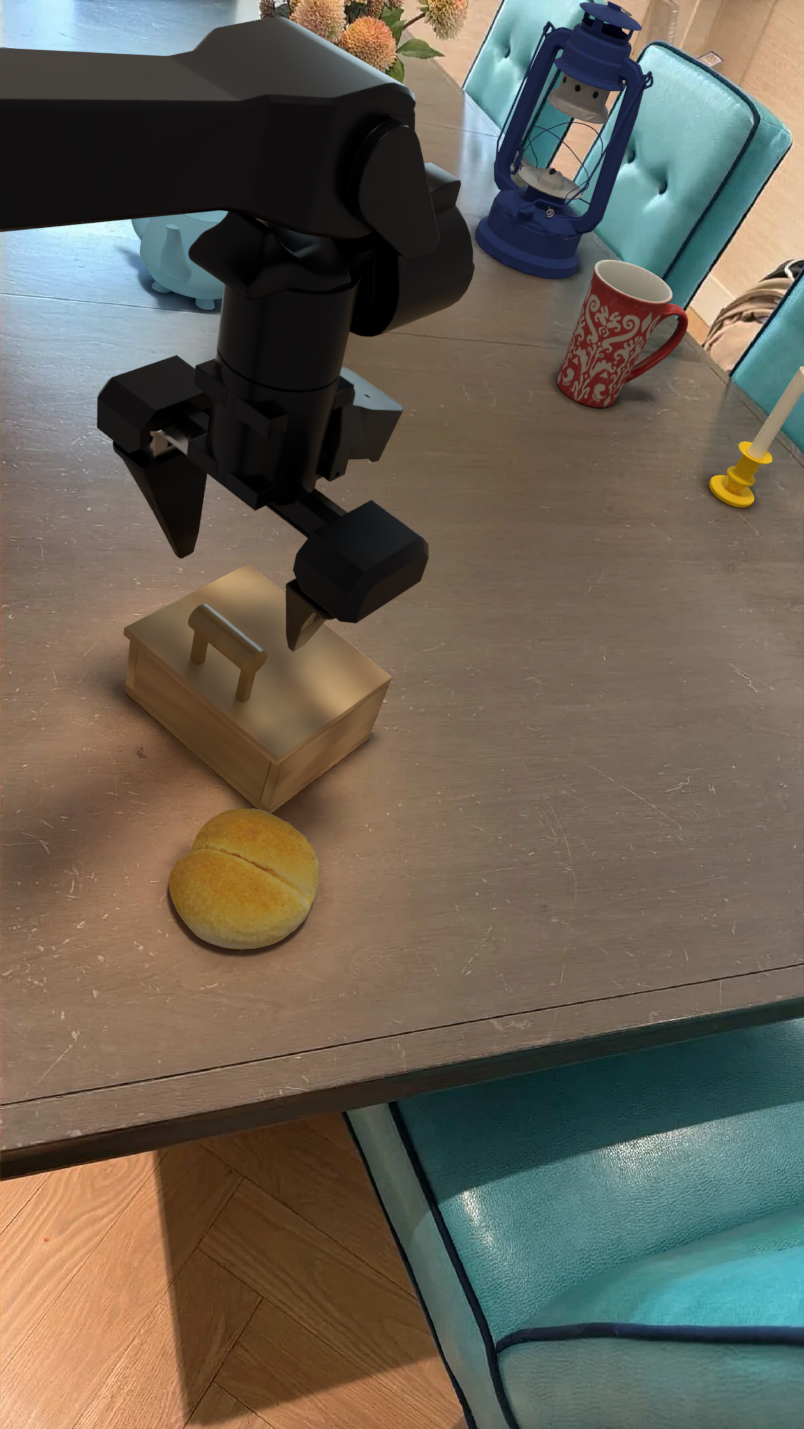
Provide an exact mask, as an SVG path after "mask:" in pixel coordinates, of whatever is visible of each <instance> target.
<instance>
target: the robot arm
mask: <svg viewBox="0 0 804 1429" xmlns="http://www.w3.org/2000/svg"><path fill="white" fill-rule="evenodd" d="M416 106H417V102H416V96H415V93H414V92H413V91H412V90H411V89H410V88H409V86H408V85H405V84H403V83H402V82H400V81H399V80H396V79H395V78H393V77H391V76H389V75H388V74H386V73H384V72H383V71H381V70H379V69H378V68H376V67H374V66H373V65H370V64H369V63H367V62H365V61H364V60H362V59H361V58H358V57H356V56H355V55H353V54H351V53H349V52H347V51H346V50H344V49H342V48H341V47H340V46H337V45H335V44H334V43H332V42H330V41H328V40H327V39H325V38H324V37H321V36H320V35H319V34H316V33H315V32H313V31H311V30H309V29H307V28H306V27H304V26H302V25H301V24H299V23H298V22H295V21H293V20H291V19H289V18H287V17H284V16H270V17H265V18H260V19H254V20H250V21H244V22H238V23H233V24H228V25H224V26H223V25H222V26H218V27H215V28H214V29H212V30H211V31H209V32H208V33H207V34H206V35H205V36H204V37H203V39H201V41H200V42H199V43H198V44H197V45H196V46H195V48H193V50H188V51H184V52H180V53H179V52H178V53H174V54H169V55H157V54H156V55H155V54H139V53H138V54H135V53H118V52H117V53H115V52H97V51H74V50H58V49H57V50H54V49H33V48H14V47H11V48H10V47H0V233H6V232H17V231H18V232H19V231H27V230H36V229H37V230H38V229H47V228H58V227H68V226H69V227H70V226H78V225H88V224H98V223H107V222H118V221H128V220H129V221H131V219H140V218H150V217H160V216H170V215H180V214H190V213H200V212H210V211H228V213H227V214H226V216H225V217H224V218H223V219H222V220H221V221H220V222H219V223H218V224H217V225H215V226H214V227H212V228H210V229H208V230H206V231H204V232H203V233H202V234H201V235H200V236H199V237H198V238H197V239H196V241H195V242H194V243H193V244H192V245H191V246H190V248H189V251H188V257H189V259H190V260H191V261H192V262H193V263H195V264H196V265H198V266H199V267H201V268H202V269H203V270H205V271H206V272H208V273H209V274H211V275H212V276H214V277H215V278H216V279H218V280H219V281H221V282H222V283H224V289H223V298H221V307H220V315H219V326H218V333H217V334H218V335H217V343H216V352H215V358H212V359H209V360H206V361H204V362H201V363H198V364H195V367H194V366H193V365H191V364H190V363H189V362H187V361H186V360H184V359H183V358H182V357H180V356H179V355H177V354H175V355H173V356H170V357H166V358H163V359H161V360H158V361H154V362H151V363H149V364H146V365H143V366H141V367H140V366H139V367H138V368H134V369H132V370H129V371H125V372H122V373H120V374H116V375H114V376H111V377H110V378H108V379H107V381H106V382H105V383H104V385H103V386H102V387H101V389H100V391H99V392H98V394H97V397H96V428H97V430H98V431H100V432H101V433H103V435H105V436H107V437H108V438H109V439H110V440H112V450H113V452H114V453H115V454H116V455H117V456H118V457H120V459H121V460H122V461H123V463H124V464H125V467H126V468H127V470H128V471H129V473H130V475H131V477H132V478H133V480H134V482H135V484H136V485H137V487H138V488H139V490H140V492H141V493H142V496H143V497H144V499H145V501H146V502H147V504H148V506H149V508H150V510H151V512H152V513H153V515H154V517H155V519H156V521H157V523H158V525H159V526H160V529H161V530H162V532H163V534H164V536H165V538H166V540H167V542H168V544H169V546H170V548H171V550H172V552H173V553H174V555H175V556H176V558H178V559H179V560H180V559H184V558H187V557H188V556H190V555H192V554H193V553H194V551H195V548H196V545H197V542H198V537H199V533H200V528H201V520H202V513H203V507H204V502H205V501H204V500H205V493H206V486H207V480H208V476H209V477H211V479H213V480H214V481H216V482H217V483H218V484H220V485H221V486H222V487H224V489H226V490H228V491H229V492H230V493H231V494H233V495H234V496H235V497H236V498H238V499H239V500H240V501H241V502H243V503H244V504H245V505H247V506H248V507H249V508H250V509H252V510H253V511H254V512H256V511H258V510H260V509H262V508H264V507H266V508H267V509H269V510H270V511H271V512H273V513H274V514H276V515H277V516H278V517H280V518H281V519H282V520H283V521H285V523H287V524H288V525H290V526H291V527H292V528H294V529H295V530H296V531H298V532H299V533H300V534H301V535H303V536H304V537H305V538H307V539H306V540H305V541H304V543H303V544H302V546H301V547H299V549H298V550H297V552H296V554H295V557H294V563H293V568H292V572H293V574H294V577H295V578H293V579H291V580H290V581H288V582H286V583H285V593H286V638H287V644H288V648H289V649H290V650H291V651H292V652H294V651H296V650H298V649H299V648H301V647H302V646H304V645H305V644H306V643H307V642H308V641H309V640H310V638H311V637H312V636H313V635H314V634H315V633H316V631H317V630H318V629H319V628H320V627H321V626H322V624H323V623H324V624H325V622H326V621H331V620H332V621H333V620H336V621H339V623H348V624H349V623H350V624H358V623H359V622H361V621H362V620H364V619H365V618H367V617H369V616H370V615H371V614H373V613H375V612H376V611H377V610H379V609H381V608H383V607H384V606H385V605H387V604H388V603H390V602H391V601H393V600H394V599H397V597H399V596H400V595H402V594H403V593H405V592H407V591H408V590H409V589H411V588H413V587H414V586H416V585H417V584H419V583H421V581H422V579H423V576H424V573H425V571H426V567H427V564H428V561H429V558H430V553H429V552H430V551H429V550H430V549H429V543H428V541H426V539H425V538H424V537H423V536H422V535H421V534H419V533H417V532H416V531H415V530H413V529H412V528H411V527H409V525H407V524H406V523H404V522H403V521H401V519H399V518H397V516H394V515H393V514H392V513H390V512H389V511H388V510H387V509H385V507H383V506H381V505H380V504H378V503H377V502H376V501H374V500H373V499H370V500H368V501H366V502H365V503H363V504H361V505H359V506H357V507H355V508H353V509H352V510H349V511H346V510H345V509H343V508H342V507H341V506H340V505H338V504H337V503H336V502H335V501H333V500H332V499H331V498H329V497H328V496H326V494H324V493H323V492H321V490H319V489H317V488H316V485H317V481H318V480H320V479H322V478H323V479H324V480H326V481H327V482H329V483H331V482H333V481H335V480H337V479H339V478H340V477H342V476H345V475H346V472H347V468H348V463H349V461H353V460H356V461H357V460H369V461H370V462H371V463H376V462H377V463H378V462H379V461H380V459H381V458H382V455H383V453H384V452H385V450H386V447H387V445H388V443H389V441H390V439H391V438H392V434H393V433H394V431H395V429H396V426H397V425H398V423H399V420H400V419H401V416H402V414H403V412H404V407H403V406H402V405H401V404H400V403H399V402H398V401H396V400H395V399H393V398H392V397H391V396H390V395H388V394H387V393H385V392H383V391H382V390H381V389H379V388H378V387H376V386H375V385H373V384H372V383H371V382H370V381H368V380H366V379H365V378H364V377H362V376H361V375H360V374H358V373H356V372H354V371H353V370H351V369H349V368H346V367H345V366H344V365H343V364H344V358H345V355H346V354H345V353H346V350H347V346H348V345H347V344H348V340H349V336H350V334H351V333H352V334H354V335H356V336H359V337H362V338H363V337H365V338H373V337H377V336H381V335H383V334H386V333H388V332H391V331H393V330H396V329H398V328H400V327H404V326H406V325H409V324H411V323H414V322H416V321H418V320H420V319H423V318H426V317H429V316H431V315H433V314H436V313H438V312H441V311H443V310H446V309H448V308H450V307H452V306H453V305H455V304H456V303H458V302H459V301H460V300H461V299H462V297H463V296H464V295H465V294H466V293H467V291H468V289H469V287H470V285H471V283H472V280H473V277H474V274H475V268H476V267H475V265H476V264H475V263H474V247H473V241H472V235H471V232H470V230H469V226H468V224H467V221H466V219H465V217H464V216H463V214H462V212H461V210H460V209H459V207H458V205H457V201H458V198H459V195H460V190H461V188H462V180H461V179H459V178H458V177H456V176H454V175H452V174H451V173H450V172H448V171H446V170H444V169H443V168H441V167H439V166H438V165H435V164H434V163H432V162H425V160H424V156H423V152H422V146H421V141H420V139H419V137H418V134H417V132H416V111H415V108H416Z"/></svg>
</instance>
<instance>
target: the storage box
mask: <svg viewBox="0 0 804 1429" xmlns="http://www.w3.org/2000/svg"><path fill="white" fill-rule="evenodd" d="M389 687H390V684H389V685H387V686H386V687H384V688H383V689H382V690H380V691H379V692H378V693H376V694H375V695H373V696H372V697H371V698H369V699H368V700H366V701H365V702H364V703H362V704H361V705H360V706H358V707H357V708H355V709H354V710H353V711H351V712H350V713H348V714H347V715H346V716H344V717H343V718H342V719H340V720H339V721H337V722H336V723H335V724H333V725H332V726H330V727H329V728H328V729H326V730H325V731H324V732H322V733H321V734H319V735H318V736H317V737H315V738H314V739H312V740H311V741H310V742H308V743H307V744H306V745H304V746H303V747H301V748H300V749H299V750H297V751H296V752H294V753H293V754H292V755H290V756H289V757H288V758H286V759H285V760H283V761H282V762H281V763H279V764H278V765H274V764H273V763H272V762H271V761H270V760H269V759H267V758H266V757H265V756H264V755H263V754H262V753H260V752H259V751H258V750H257V749H256V748H255V747H254V746H252V745H251V744H250V743H249V742H248V741H247V740H245V739H244V738H243V737H242V736H241V735H240V734H238V733H237V732H236V731H235V730H234V729H233V728H231V727H230V726H229V725H228V724H227V723H226V722H224V721H223V720H222V719H221V718H220V717H219V716H217V715H216V714H215V713H214V712H213V711H212V710H210V709H209V708H208V707H207V706H206V705H205V704H203V703H202V702H201V701H200V700H199V699H198V698H196V697H195V696H194V695H193V694H192V693H191V692H189V691H188V690H187V689H186V688H185V687H184V686H182V685H181V684H180V683H179V682H178V681H177V680H175V679H174V678H173V677H172V676H171V675H170V674H168V673H167V672H166V671H165V670H164V669H163V668H161V667H160V666H159V665H158V664H157V663H156V662H154V661H153V660H152V659H151V658H150V657H149V656H148V655H146V654H145V653H144V652H143V651H142V650H141V649H139V648H138V647H137V646H136V645H135V644H134V643H132V642H131V641H130V640H129V646H128V654H127V666H126V676H125V686H124V693H125V694H126V695H128V696H129V698H131V699H132V700H133V701H134V702H135V703H136V704H138V705H139V706H140V707H141V708H142V709H143V710H145V711H146V712H147V713H148V714H149V715H150V716H151V717H153V719H155V720H156V721H157V722H158V723H159V724H160V725H161V726H163V727H164V728H165V729H166V730H167V731H168V732H170V734H172V736H174V737H175V738H176V739H177V740H179V741H180V742H181V743H182V744H183V745H184V746H185V747H186V748H188V749H189V750H190V751H191V752H192V753H193V754H194V755H196V756H197V758H199V759H200V760H201V761H202V762H204V763H205V764H206V765H207V766H208V767H209V768H210V769H211V770H213V771H214V772H215V773H216V774H217V775H218V776H219V777H221V778H222V780H224V781H225V782H226V783H227V784H228V785H230V786H231V787H232V788H233V789H234V790H235V791H236V792H237V793H239V795H240V796H242V797H243V798H244V799H245V800H247V801H248V802H249V803H250V804H251V805H252V806H253V807H254V808H255V809H259V810H264V811H266V812H268V813H270V814H273V813H274V812H275V811H276V810H278V809H279V808H280V807H281V806H283V805H284V804H285V803H287V802H288V801H289V800H291V799H292V798H294V797H295V796H296V795H297V794H299V793H300V792H301V791H303V790H304V789H305V788H306V787H308V786H309V785H310V784H312V783H313V782H314V781H316V780H317V779H318V778H319V777H321V776H322V775H323V774H325V773H327V771H329V770H330V769H331V768H333V767H334V766H335V765H336V764H338V763H339V762H340V761H342V760H343V759H344V758H346V757H347V756H348V755H350V754H351V753H352V752H353V751H356V749H357V748H359V747H360V746H361V745H363V744H364V743H365V742H367V741H368V740H369V739H370V736H371V734H372V731H373V729H374V727H375V723H376V721H377V719H378V716H379V714H380V711H381V708H382V705H383V702H384V701H385V697H386V695H387V692H388V689H389Z"/></svg>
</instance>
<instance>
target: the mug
mask: <svg viewBox="0 0 804 1429" xmlns="http://www.w3.org/2000/svg"><path fill="white" fill-rule="evenodd" d="M592 273H593V274H592V277H591V280H590V283H589V286H588V288H587V291H586V294H585V297H584V300H583V302H582V306H581V308H580V312H579V314H578V318H577V321H576V323H575V326H574V329H573V332H572V335H571V336H570V340H569V344H568V345H567V349H566V351H565V355H564V357H563V361H562V363H561V364H560V368H559V372H558V375H557V378H556V384H557V386H558V388H559V390H560V391H561V392H562V393H563V394H564V395H566V396H567V398H569V399H571V400H573V401H575V402H577V403H578V404H581V405H585V406H587V407H591V408H607V407H608V408H609V407H611V406H612V405H613V404H614V403H615V402H616V400H617V398H618V397H619V394H620V393H621V391H622V389H623V386H624V385H626V384H628V383H629V382H631V381H633V380H635V379H637V378H638V377H640V376H642V375H643V374H645V373H647V372H648V371H649V370H651V369H652V368H654V367H655V366H657V365H658V364H660V363H661V362H662V361H663V360H665V359H666V358H667V357H668V356H669V355H670V354H671V353H672V352H674V350H675V349H676V348H677V347H678V346H679V344H680V343H681V342H682V340H683V338H684V337H685V335H686V333H687V330H688V326H689V317H688V315H687V313H686V311H685V310H684V308H683V307H682V306H680V305H678V304H675V303H670V302H671V301H672V300H673V296H674V294H673V291H672V289H671V287H670V286H669V284H667V283H666V282H665V281H664V280H663V279H662V278H661V277H660V276H658V275H656V274H655V273H654V272H651V271H650V270H648V269H646V268H644V267H642V266H639V265H636V264H633V263H630V262H628V261H627V262H626V261H623V260H616V259H603V260H599V261H598V262H596V263H595V264H594V267H593V272H592ZM672 316H676V317H678V321H677V325H676V327H675V329H674V331H673V333H672V334H671V335H670V337H669V338H668V339H666V341H665V342H664V343H663V344H662V345H661V346H660V347H658V349H656V350H655V351H654V352H651V354H649V355H648V356H646V357H645V358H644V359H642V360H641V361H639V362H637V360H638V358H639V357H640V355H641V353H642V352H643V349H644V348H645V346H646V344H647V342H648V340H649V338H650V336H651V335H652V333H653V332H654V329H655V328H657V326H658V325H659V324H660V323H661V322H662V321H664V320H665V319H667V318H669V317H672Z"/></svg>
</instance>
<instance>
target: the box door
mask: <svg viewBox="0 0 804 1429" xmlns="http://www.w3.org/2000/svg"><path fill="white" fill-rule="evenodd" d="M123 636H124V637H125V638H126V639H128V640H129V642H130V641H131V642H132V643H134V644H135V645H136V646H137V647H138V648H139V649H141V650H142V651H143V652H144V653H145V654H146V655H148V656H149V657H150V658H151V659H152V660H153V661H154V662H156V663H157V664H158V665H159V666H160V667H161V668H163V669H164V670H165V671H166V672H167V673H168V674H170V675H171V676H172V677H173V678H174V679H175V680H177V681H178V682H179V683H180V684H181V685H182V686H184V687H185V688H186V689H187V690H188V691H189V692H191V693H192V694H193V695H194V696H195V697H196V698H198V699H199V700H200V701H201V702H202V703H203V704H205V705H206V706H207V707H208V708H209V709H210V710H212V711H213V712H214V713H215V714H216V715H217V716H219V717H220V718H221V719H222V720H223V721H224V722H226V723H227V724H228V725H229V726H230V727H231V728H233V729H234V730H235V731H236V732H237V733H238V734H240V735H241V736H242V737H243V738H244V739H245V740H247V741H248V742H249V743H250V744H251V745H252V746H254V747H255V748H256V749H257V750H258V751H259V752H260V753H262V754H263V755H264V756H265V757H266V758H267V759H269V760H270V761H271V762H272V763H273V764H274V765H278V764H279V763H281V762H282V761H283V760H285V759H286V758H288V757H289V756H290V755H292V754H293V753H294V752H296V751H297V750H299V749H300V748H301V747H303V746H304V745H306V744H307V743H308V742H310V741H311V740H312V739H314V738H315V737H317V736H318V735H319V734H321V733H322V732H324V731H325V730H326V729H328V728H329V727H330V726H332V725H333V724H335V723H336V722H337V721H339V720H340V719H342V718H343V717H344V716H346V715H347V714H348V713H350V712H351V711H353V710H354V709H355V708H357V707H358V706H360V705H361V704H362V703H364V702H365V701H366V700H368V699H369V698H371V697H372V696H373V695H375V694H376V693H378V692H379V691H380V690H382V689H383V688H384V687H386V686H387V685H389V686H390V684H391V681H392V679H393V677H392V675H390V673H387V671H386V670H384V669H383V668H382V667H380V666H379V665H378V664H376V663H375V662H374V661H373V660H371V659H370V658H369V657H367V655H365V654H363V653H362V652H361V651H360V650H359V649H357V648H356V647H355V646H354V645H353V644H352V643H350V642H349V641H347V640H346V639H344V637H342V635H340V634H338V633H337V632H336V631H334V630H333V629H332V628H331V627H330V626H328V625H327V624H326V623H325V622H324V623H323V624H322V626H321V627H320V628H319V629H318V630H317V631H316V633H315V634H314V635H313V636H312V637H311V638H310V640H309V641H308V642H307V643H306V644H305V645H304V646H302V647H301V648H299V649H298V650H296V651H294V652H292V651H291V650H290V649H289V648H288V644H287V638H286V591H284V590H283V589H282V588H280V587H279V586H277V585H276V584H275V583H274V582H272V581H271V580H270V579H269V578H267V577H266V576H265V575H264V574H262V573H261V572H260V571H259V570H257V569H256V568H255V567H254V566H252V564H250V563H245V565H242V566H241V567H239V568H236V569H235V570H233V571H231V572H229V573H227V574H224V575H223V576H221V577H219V578H217V579H215V580H214V581H211V582H210V583H207V584H206V585H203V586H202V587H200V588H197V589H196V590H194V591H192V592H190V593H188V594H186V595H185V596H183V597H180V598H178V599H177V600H175V601H173V602H171V603H168V604H167V605H165V606H163V607H161V608H159V609H157V610H155V611H153V612H151V613H150V614H147V615H146V616H144V617H141V618H140V619H138V620H136V621H134V622H132V623H130V624H128V625H127V626H125V627H124V628H123Z"/></svg>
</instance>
